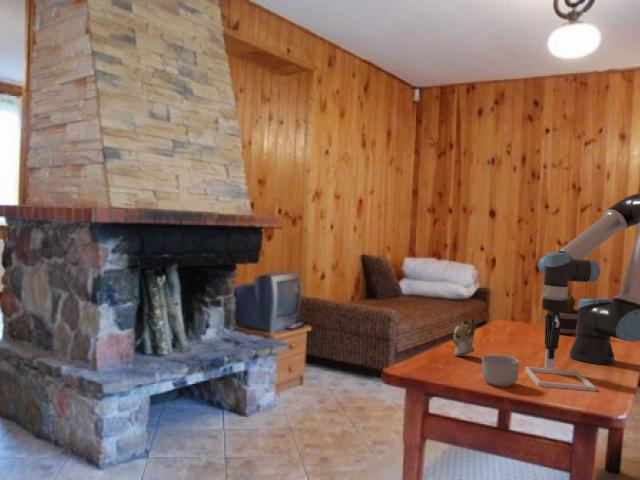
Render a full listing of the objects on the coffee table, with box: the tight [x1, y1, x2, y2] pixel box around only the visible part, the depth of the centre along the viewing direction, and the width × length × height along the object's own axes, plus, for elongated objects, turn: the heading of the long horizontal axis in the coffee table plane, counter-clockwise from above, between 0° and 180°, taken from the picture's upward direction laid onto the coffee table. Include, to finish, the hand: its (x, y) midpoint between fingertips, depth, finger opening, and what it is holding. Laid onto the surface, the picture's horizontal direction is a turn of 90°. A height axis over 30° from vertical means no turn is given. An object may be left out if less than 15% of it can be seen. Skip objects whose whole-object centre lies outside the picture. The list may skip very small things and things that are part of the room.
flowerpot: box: [546, 293, 578, 336], centre depth 265 cm, size 14×15×20 cm
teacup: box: [481, 353, 520, 388], centre depth 173 cm, size 14×11×8 cm
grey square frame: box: [524, 366, 597, 392], centre depth 179 cm, size 17×19×2 cm
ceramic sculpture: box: [450, 313, 476, 357], centre depth 206 cm, size 11×9×15 cm
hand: (549, 367), depth 190 cm, fingers closed
